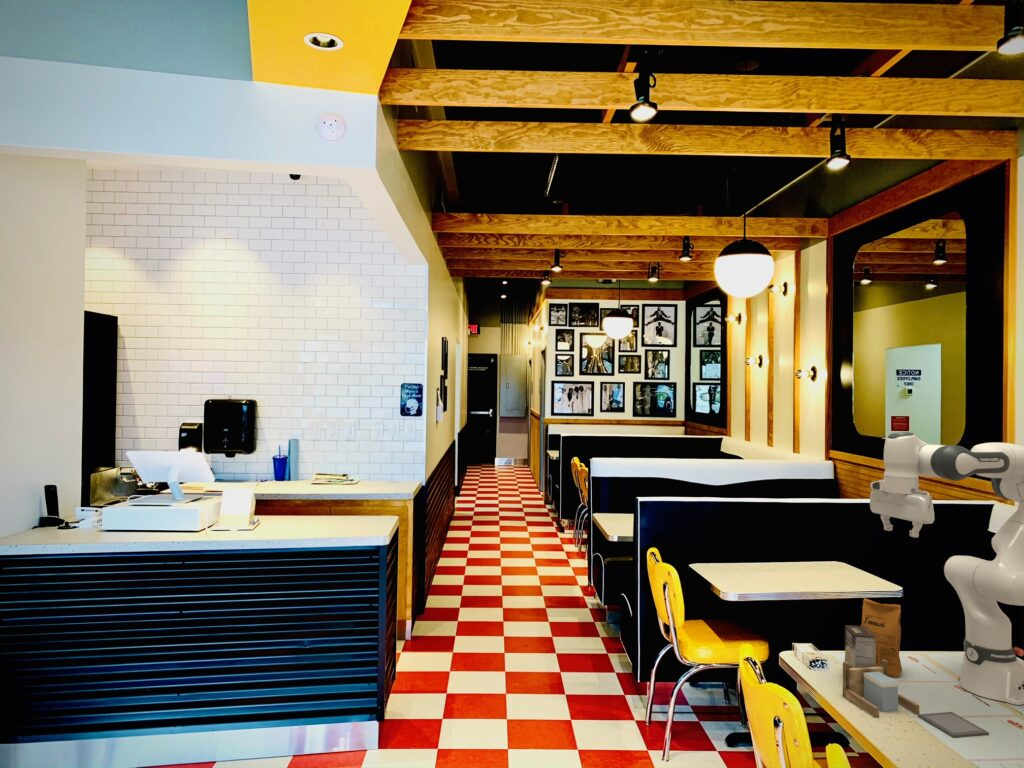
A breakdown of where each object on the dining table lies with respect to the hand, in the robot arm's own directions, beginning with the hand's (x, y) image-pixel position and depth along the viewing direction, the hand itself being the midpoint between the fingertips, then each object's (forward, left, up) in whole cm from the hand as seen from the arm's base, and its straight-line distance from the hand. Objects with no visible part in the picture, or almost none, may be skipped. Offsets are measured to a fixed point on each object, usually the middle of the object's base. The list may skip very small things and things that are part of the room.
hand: (900, 533), depth 183 cm
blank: (+10, +4, -48) cm, 49 cm away
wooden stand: (+10, +4, -48) cm, 49 cm away
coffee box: (+5, -10, -48) cm, 49 cm away
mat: (-1, +16, -48) cm, 51 cm away
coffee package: (-9, -18, -48) cm, 52 cm away
